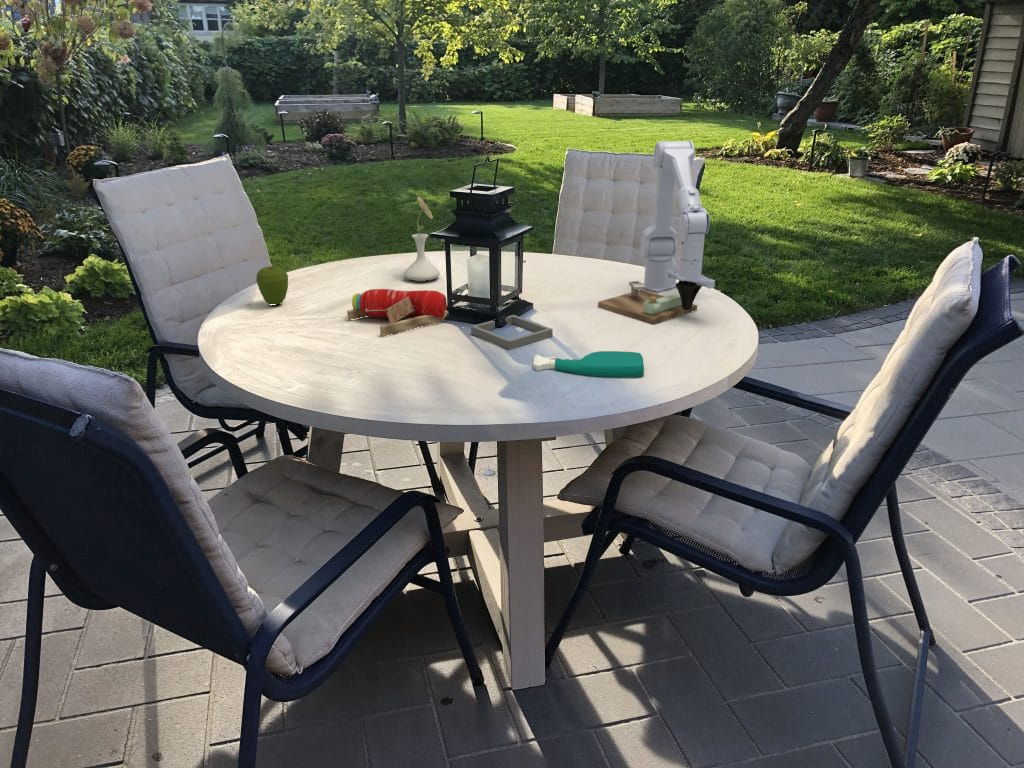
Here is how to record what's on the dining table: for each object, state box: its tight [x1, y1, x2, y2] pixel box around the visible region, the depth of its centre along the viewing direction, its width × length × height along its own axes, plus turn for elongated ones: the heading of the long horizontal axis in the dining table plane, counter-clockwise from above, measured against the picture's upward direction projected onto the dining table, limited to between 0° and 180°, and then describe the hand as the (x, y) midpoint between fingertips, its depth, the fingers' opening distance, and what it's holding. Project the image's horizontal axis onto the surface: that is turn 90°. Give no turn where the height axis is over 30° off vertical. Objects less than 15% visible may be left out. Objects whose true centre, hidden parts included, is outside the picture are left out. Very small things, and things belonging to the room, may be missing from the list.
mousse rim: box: [470, 314, 554, 350], centre depth 194 cm, size 14×15×2 cm
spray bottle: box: [532, 350, 645, 378], centre depth 174 cm, size 3×11×24 cm
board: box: [597, 280, 698, 325], centre depth 212 cm, size 18×20×6 cm
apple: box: [255, 265, 289, 305], centre depth 216 cm, size 9×8×12 cm
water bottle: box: [351, 288, 448, 324], centre depth 204 cm, size 12×8×25 cm
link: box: [643, 292, 682, 315], centre depth 208 cm, size 14×4×2 cm, turn 130°
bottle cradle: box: [346, 308, 449, 337], centre depth 205 cm, size 20×18×2 cm
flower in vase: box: [403, 196, 441, 282], centre depth 238 cm, size 13×11×25 cm
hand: (686, 308), depth 206 cm, fingers closed
